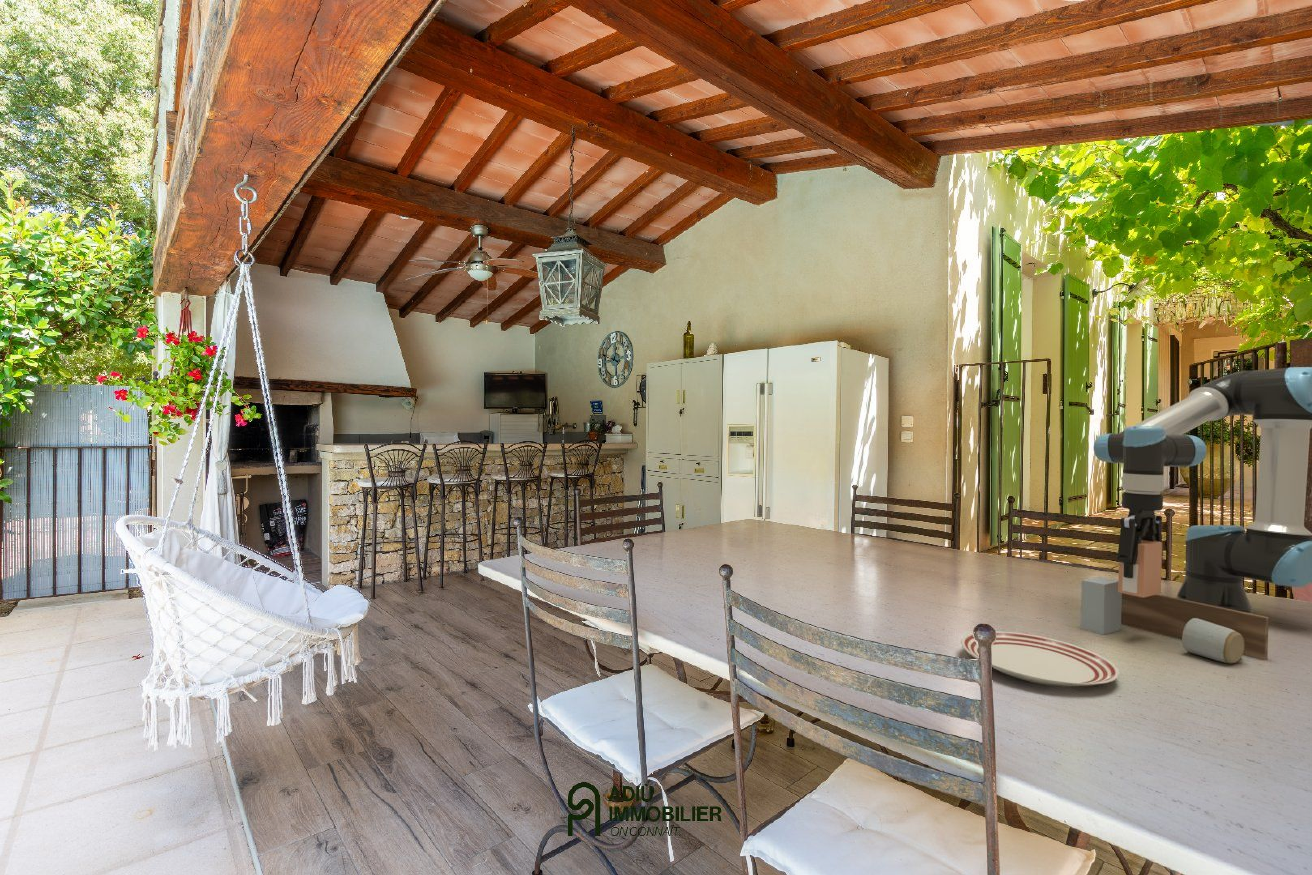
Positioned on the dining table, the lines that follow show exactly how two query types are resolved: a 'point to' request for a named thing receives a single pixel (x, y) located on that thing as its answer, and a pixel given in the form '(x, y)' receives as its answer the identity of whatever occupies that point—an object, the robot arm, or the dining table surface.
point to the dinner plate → (1045, 660)
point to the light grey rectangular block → (1100, 605)
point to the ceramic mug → (1212, 641)
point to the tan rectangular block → (1146, 569)
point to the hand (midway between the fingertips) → (1139, 589)
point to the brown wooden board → (1175, 613)
